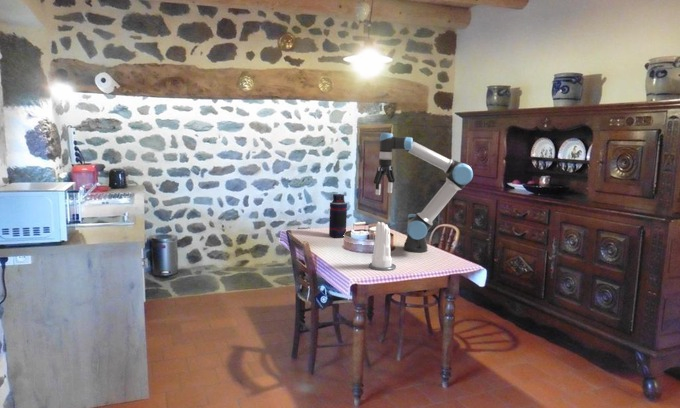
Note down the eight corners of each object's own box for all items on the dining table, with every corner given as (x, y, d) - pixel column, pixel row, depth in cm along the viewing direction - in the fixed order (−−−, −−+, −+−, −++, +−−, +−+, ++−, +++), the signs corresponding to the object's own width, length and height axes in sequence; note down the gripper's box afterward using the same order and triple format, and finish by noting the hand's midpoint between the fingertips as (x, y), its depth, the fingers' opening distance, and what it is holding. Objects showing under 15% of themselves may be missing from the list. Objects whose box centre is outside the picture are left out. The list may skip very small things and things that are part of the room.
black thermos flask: (348, 237, 339) (350, 195, 335) (332, 238, 335) (334, 195, 330) (340, 233, 352) (342, 192, 348) (325, 234, 347) (326, 193, 343)
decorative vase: (380, 261, 277) (382, 218, 273) (395, 265, 270) (397, 221, 266) (367, 265, 269) (369, 220, 265) (382, 269, 262) (384, 223, 258)
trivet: (378, 261, 280) (378, 260, 280) (400, 266, 271) (400, 265, 271) (363, 266, 268) (363, 265, 268) (386, 272, 259) (386, 270, 259)
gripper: (391, 158, 305) (389, 191, 308) (368, 159, 285) (367, 194, 288) (401, 158, 300) (399, 192, 303) (379, 159, 281) (377, 196, 284)
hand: (383, 193), depth 296 cm, fingers open, 13 cm apart
